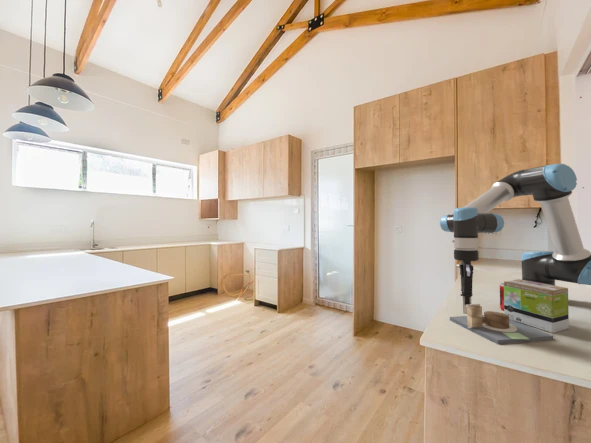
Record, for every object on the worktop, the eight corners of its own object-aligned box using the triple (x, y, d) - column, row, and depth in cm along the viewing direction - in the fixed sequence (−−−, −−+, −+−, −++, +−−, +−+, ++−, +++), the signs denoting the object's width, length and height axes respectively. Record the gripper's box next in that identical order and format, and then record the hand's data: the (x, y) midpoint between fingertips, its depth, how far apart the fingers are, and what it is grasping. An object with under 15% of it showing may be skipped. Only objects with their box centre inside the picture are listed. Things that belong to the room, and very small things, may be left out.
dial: (496, 320, 93) (495, 299, 93) (515, 327, 86) (514, 305, 86) (459, 322, 91) (458, 301, 91) (475, 330, 84) (474, 308, 84)
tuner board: (495, 317, 100) (495, 313, 100) (556, 340, 80) (556, 336, 80) (448, 320, 98) (448, 316, 98) (498, 345, 77) (498, 341, 77)
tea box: (503, 318, 99) (502, 280, 99) (519, 315, 102) (518, 278, 103) (553, 334, 85) (552, 289, 85) (570, 329, 88) (569, 286, 88)
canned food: (529, 314, 103) (529, 287, 103) (507, 313, 104) (506, 286, 104) (517, 308, 110) (516, 283, 110) (496, 307, 112) (495, 282, 112)
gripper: (452, 247, 101) (453, 307, 101) (455, 250, 89) (456, 317, 89) (475, 248, 98) (476, 309, 97) (481, 251, 86) (482, 321, 86)
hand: (466, 313), depth 93 cm, fingers closed
